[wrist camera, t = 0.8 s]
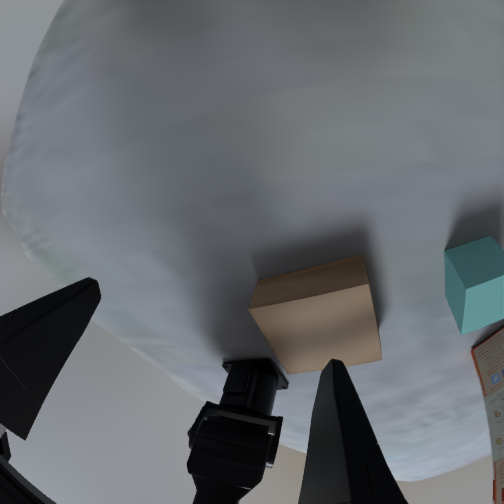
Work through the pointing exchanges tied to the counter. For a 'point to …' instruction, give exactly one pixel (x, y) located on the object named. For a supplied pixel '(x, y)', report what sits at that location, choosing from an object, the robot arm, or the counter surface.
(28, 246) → the counter surface
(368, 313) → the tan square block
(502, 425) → the cracker box
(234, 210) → the counter surface
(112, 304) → the counter surface
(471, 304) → the teal cube
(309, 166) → the counter surface
